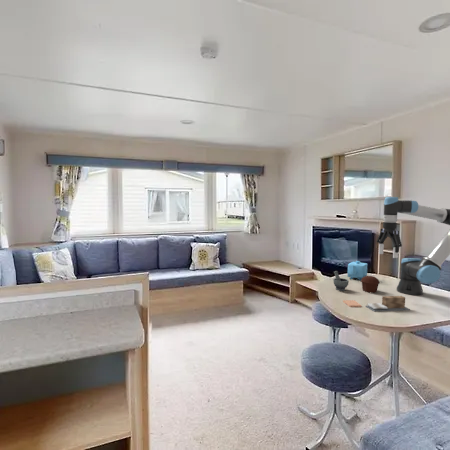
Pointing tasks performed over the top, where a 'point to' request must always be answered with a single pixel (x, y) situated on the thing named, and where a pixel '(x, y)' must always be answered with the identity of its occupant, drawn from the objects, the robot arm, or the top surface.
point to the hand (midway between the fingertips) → (387, 255)
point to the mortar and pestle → (340, 282)
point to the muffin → (370, 284)
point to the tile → (352, 303)
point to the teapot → (357, 270)
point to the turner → (389, 302)
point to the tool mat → (388, 309)
